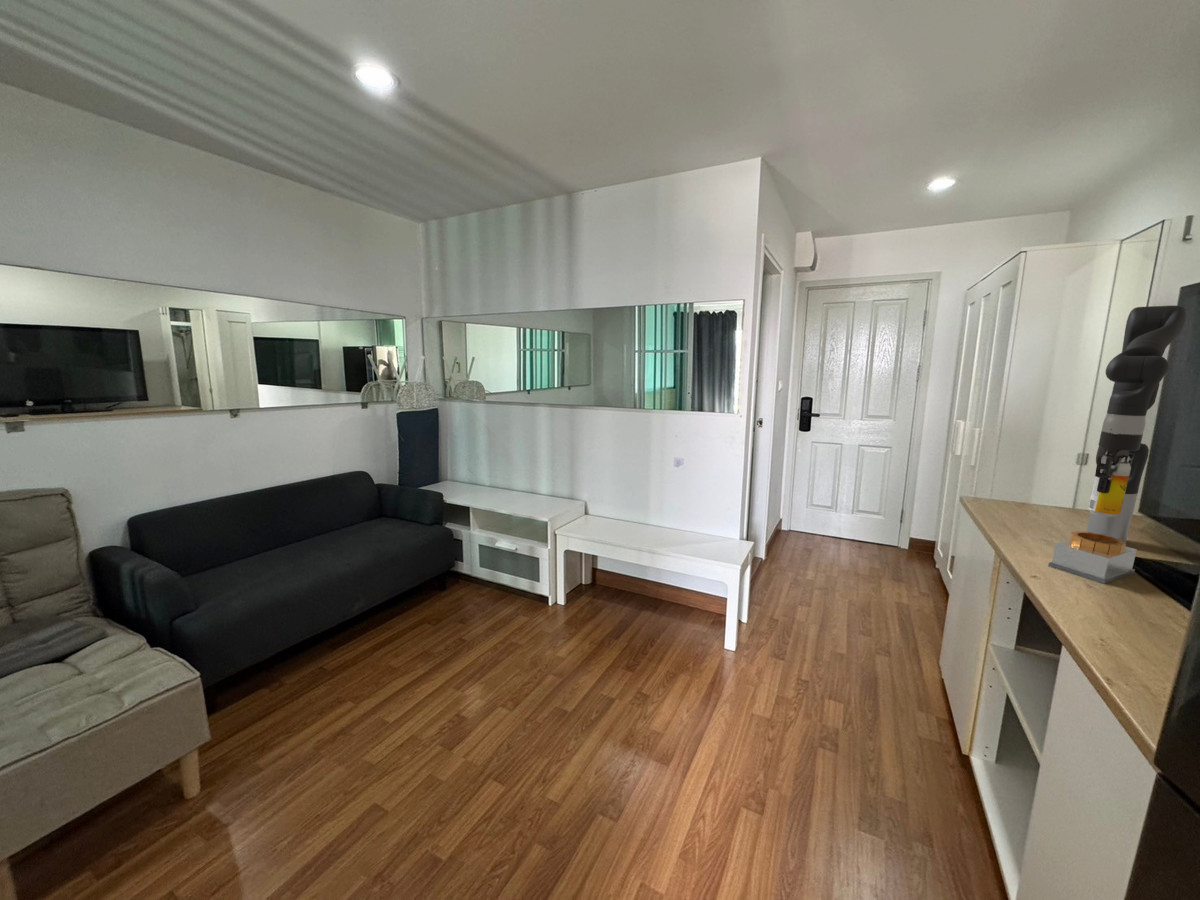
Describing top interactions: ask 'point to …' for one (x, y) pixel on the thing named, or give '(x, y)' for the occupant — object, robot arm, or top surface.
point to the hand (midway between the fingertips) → (1108, 491)
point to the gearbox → (1094, 557)
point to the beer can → (1110, 493)
